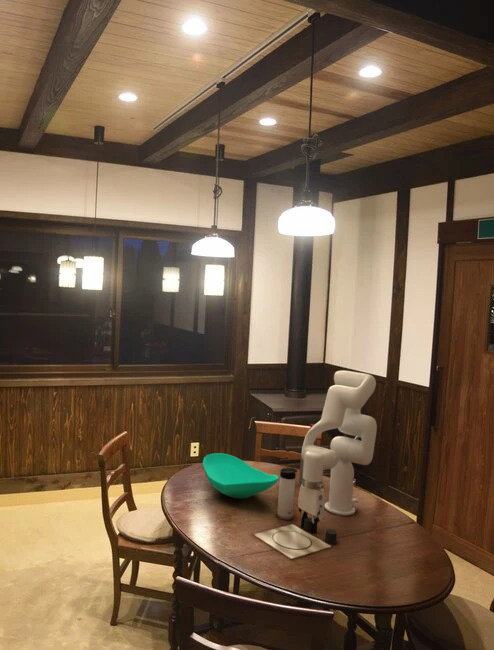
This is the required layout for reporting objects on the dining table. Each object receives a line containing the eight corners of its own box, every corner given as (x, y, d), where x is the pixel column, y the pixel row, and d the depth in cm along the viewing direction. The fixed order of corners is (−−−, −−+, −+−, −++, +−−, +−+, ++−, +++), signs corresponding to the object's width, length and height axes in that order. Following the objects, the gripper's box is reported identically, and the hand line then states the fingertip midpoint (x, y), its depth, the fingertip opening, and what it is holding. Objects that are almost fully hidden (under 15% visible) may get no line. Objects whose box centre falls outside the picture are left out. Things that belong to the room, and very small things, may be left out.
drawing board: (292, 524, 213) (292, 523, 213) (331, 547, 196) (331, 545, 196) (253, 535, 202) (253, 533, 202) (291, 559, 185) (291, 558, 185)
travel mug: (293, 520, 216) (297, 472, 215) (276, 518, 218) (280, 470, 216) (293, 514, 222) (296, 467, 221) (277, 512, 224) (280, 465, 223)
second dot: (330, 538, 203) (330, 528, 202) (338, 543, 199) (339, 532, 199) (322, 540, 201) (323, 530, 200) (330, 545, 197) (331, 534, 197)
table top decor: (292, 505, 232) (294, 475, 231) (245, 518, 216) (247, 486, 215) (231, 476, 264) (233, 449, 263) (186, 485, 248) (188, 457, 247)
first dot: (308, 526, 212) (309, 516, 212) (316, 530, 209) (316, 520, 208) (301, 528, 210) (302, 518, 210) (308, 532, 206) (309, 522, 206)
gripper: (335, 489, 203) (331, 536, 204) (303, 475, 217) (300, 519, 218) (321, 492, 199) (318, 540, 200) (289, 477, 213) (286, 522, 214)
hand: (308, 529), depth 209 cm, fingers closed on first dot, 4 cm apart
